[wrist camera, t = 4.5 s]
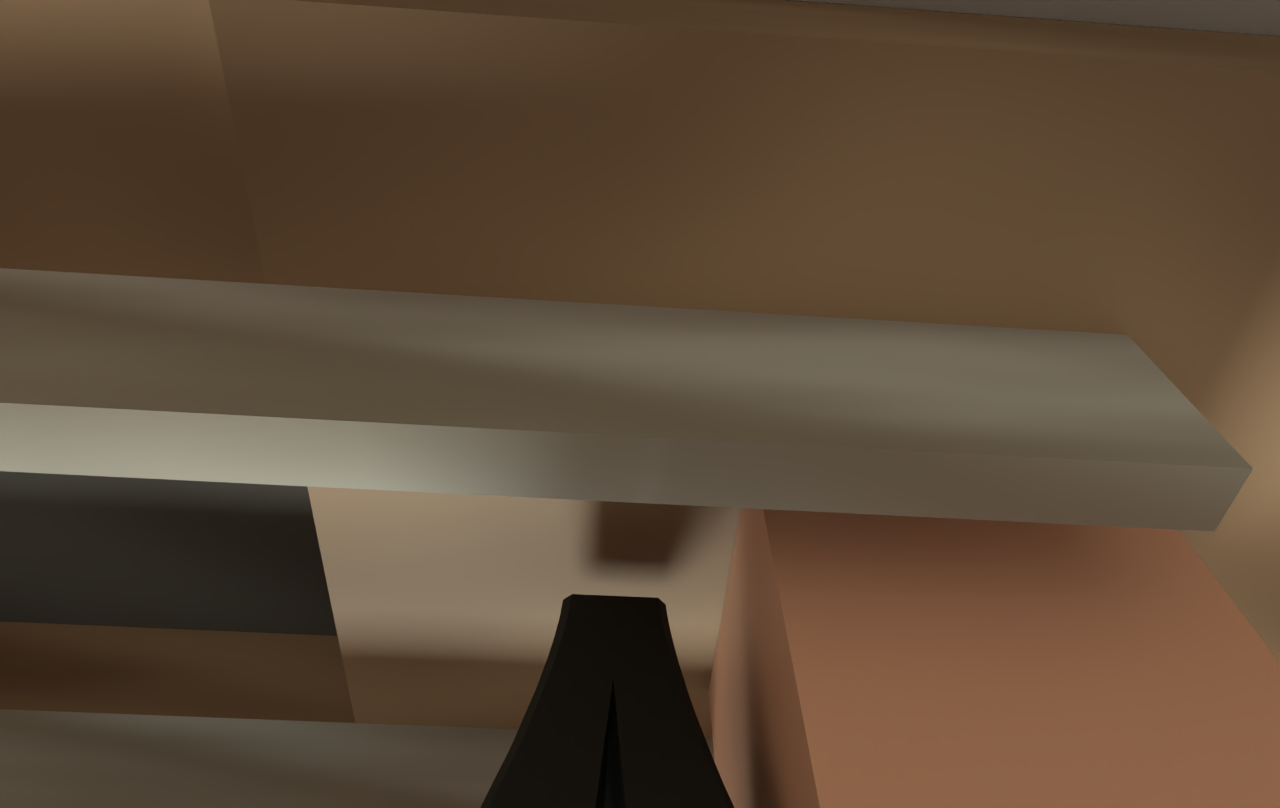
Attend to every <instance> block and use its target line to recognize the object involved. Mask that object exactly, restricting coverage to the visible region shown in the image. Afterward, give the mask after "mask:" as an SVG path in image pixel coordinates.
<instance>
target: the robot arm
mask: <svg viewBox="0 0 1280 808" xmlns="http://www.w3.org/2000/svg"><path fill="white" fill-rule="evenodd" d="M480 808H734V806H733V803H732V801H731V799H730V797H729V795H728V792H727V790H726V788H725V786H724V783H723V781H722V779H721V776H720V774H719V771H718V769H717V767H716V764H715V762H714V760H713V757H712V754H711V752H710V749H709V747H708V744H707V742H706V739H705V736H704V734H703V731H702V729H701V726H700V724H699V721H698V718H697V716H696V713H695V710H694V708H693V705H692V702H691V699H690V696H689V693H688V690H687V687H686V684H685V681H684V678H683V674H682V671H681V668H680V665H679V661H678V658H677V654H676V651H675V647H674V643H673V639H672V635H671V631H670V626H669V621H668V616H667V610H666V604H665V603H664V602H662V601H661V600H660V599H659V598H653V597H630V596H606V595H582V594H571V595H570V596H568V597H567V598H565V599H563V602H562V608H561V613H560V618H559V622H558V625H557V629H556V633H555V636H554V640H553V643H552V646H551V649H550V652H549V655H548V658H547V661H546V663H545V666H544V669H543V671H542V674H541V677H540V680H539V682H538V685H537V687H536V690H535V692H534V695H533V697H532V699H531V702H530V704H529V706H528V708H527V711H526V713H525V715H524V718H523V720H522V722H521V725H520V727H519V729H518V732H517V734H516V736H515V739H514V741H513V743H512V745H511V747H510V749H509V751H508V753H507V755H506V757H505V759H504V761H503V763H502V765H501V767H500V769H499V771H498V773H497V775H496V777H495V779H494V781H493V783H492V785H491V787H490V789H489V791H488V793H487V795H486V797H485V799H484V801H483V803H482V805H481V807H480Z"/></svg>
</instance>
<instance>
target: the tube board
mask: <svg viewBox="0 0 1280 808" xmlns="http://www.w3.org/2000/svg"><path fill="white" fill-rule="evenodd" d="M741 508H751V509H772V510H792V511H812V512H832V513H852V514H872V515H892V516H912V517H932V518H953V519H973V520H993V521H1013V522H1033V523H1053V524H1073V525H1093V526H1113V527H1134V528H1154V529H1174V530H1179V531H1180V532H1181V534H1182V535H1183V536H1184V538H1185V539H1186V540H1187V541H1188V543H1189V544H1190V545H1191V547H1192V548H1193V549H1194V551H1195V552H1196V553H1197V555H1198V556H1199V557H1200V559H1201V560H1202V561H1203V563H1204V564H1205V565H1206V566H1207V568H1208V569H1209V570H1210V572H1211V573H1212V574H1213V576H1214V577H1215V578H1216V580H1217V581H1218V582H1219V584H1220V585H1221V586H1222V587H1223V589H1224V590H1225V591H1226V593H1227V594H1228V595H1229V597H1230V598H1231V599H1232V601H1233V602H1234V603H1235V605H1236V606H1237V607H1238V608H1239V610H1240V611H1241V612H1242V614H1243V615H1244V616H1245V618H1246V619H1247V620H1248V622H1249V623H1250V624H1251V626H1252V627H1253V628H1254V629H1255V631H1256V632H1257V633H1258V635H1259V636H1260V637H1261V639H1262V640H1263V641H1264V643H1265V644H1266V645H1267V647H1268V648H1269V649H1270V651H1271V652H1272V653H1273V654H1274V656H1275V657H1276V658H1277V660H1278V661H1279V662H1280V37H1278V36H1264V35H1251V34H1237V33H1223V32H1210V31H1196V30H1183V29H1169V28H1156V27H1142V26H1128V25H1115V24H1101V23H1088V22H1074V21H1061V20H1047V19H1033V18H1020V17H1006V16H993V15H979V14H966V13H952V12H939V11H925V10H911V9H898V8H884V7H871V6H857V5H844V4H830V3H816V2H803V1H789V0H0V808H480V807H481V805H482V803H483V801H484V799H485V797H486V795H487V793H488V791H489V789H490V787H491V785H492V783H493V781H494V779H495V777H496V775H497V773H498V771H499V769H500V767H501V765H502V763H503V761H504V759H505V757H506V755H507V753H508V751H509V749H510V747H511V745H512V743H513V741H514V739H515V736H516V734H517V732H518V729H519V727H520V725H521V722H522V720H523V718H524V715H525V713H526V711H527V708H528V706H529V704H530V702H531V699H532V697H533V695H534V692H535V690H536V687H537V685H538V682H539V680H540V677H541V674H542V671H543V669H544V666H545V663H546V661H547V658H548V655H549V652H550V649H551V646H552V643H553V640H554V636H555V633H556V629H557V625H558V622H559V618H560V613H561V608H562V602H563V599H565V598H567V597H568V596H570V595H571V594H582V595H606V596H630V597H653V598H659V599H660V600H661V601H662V602H664V603H665V604H666V610H667V616H668V621H669V626H670V631H671V635H672V639H673V643H674V647H675V651H676V654H677V658H678V661H679V665H680V668H681V671H682V674H683V678H684V681H685V684H686V687H687V690H688V693H689V696H690V699H691V702H692V705H693V708H694V710H695V713H696V716H697V718H698V721H699V724H700V726H701V729H702V731H703V734H704V736H705V739H706V742H707V744H708V747H709V749H710V752H711V754H712V757H713V760H714V750H713V739H712V728H711V716H710V705H709V694H708V691H709V685H710V680H711V674H712V668H713V663H714V657H715V652H716V646H717V640H718V635H719V629H720V623H721V618H722V612H723V607H724V601H725V595H726V590H727V584H728V578H729V573H730V567H731V561H732V556H733V550H734V545H735V539H736V533H737V528H738V522H739V516H740V511H741ZM714 762H715V761H714Z"/></svg>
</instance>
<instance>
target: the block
mask: <svg viewBox="0 0 1280 808" xmlns="http://www.w3.org/2000/svg"><path fill="white" fill-rule="evenodd" d="M708 694H709V705H710V716H711V728H712V739H713V750H714V761H715V764H716V767H717V769H718V771H719V774H720V776H721V779H722V781H723V783H724V786H725V788H726V790H727V792H728V795H729V797H730V799H731V801H732V803H733V806H734V808H1280V662H1279V661H1278V660H1277V658H1276V657H1275V656H1274V654H1273V653H1272V652H1271V651H1270V649H1269V648H1268V647H1267V645H1266V644H1265V643H1264V641H1263V640H1262V639H1261V637H1260V636H1259V635H1258V633H1257V632H1256V631H1255V629H1254V628H1253V627H1252V626H1251V624H1250V623H1249V622H1248V620H1247V619H1246V618H1245V616H1244V615H1243V614H1242V612H1241V611H1240V610H1239V608H1238V607H1237V606H1236V605H1235V603H1234V602H1233V601H1232V599H1231V598H1230V597H1229V595H1228V594H1227V593H1226V591H1225V590H1224V589H1223V587H1222V586H1221V585H1220V584H1219V582H1218V581H1217V580H1216V578H1215V577H1214V576H1213V574H1212V573H1211V572H1210V570H1209V569H1208V568H1207V566H1206V565H1205V564H1204V563H1203V561H1202V560H1201V559H1200V557H1199V556H1198V555H1197V553H1196V552H1195V551H1194V549H1193V548H1192V547H1191V545H1190V544H1189V543H1188V541H1187V540H1186V539H1185V538H1184V536H1183V535H1182V534H1181V532H1180V531H1179V530H1174V529H1154V528H1134V527H1113V526H1093V525H1073V524H1053V523H1033V522H1013V521H993V520H973V519H953V518H932V517H912V516H892V515H872V514H852V513H832V512H812V511H792V510H772V509H751V508H741V511H740V516H739V522H738V528H737V533H736V539H735V545H734V550H733V556H732V561H731V567H730V573H729V578H728V584H727V590H726V595H725V601H724V607H723V612H722V618H721V623H720V629H719V635H718V640H717V646H716V652H715V657H714V663H713V668H712V674H711V680H710V685H709V691H708Z"/></svg>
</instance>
